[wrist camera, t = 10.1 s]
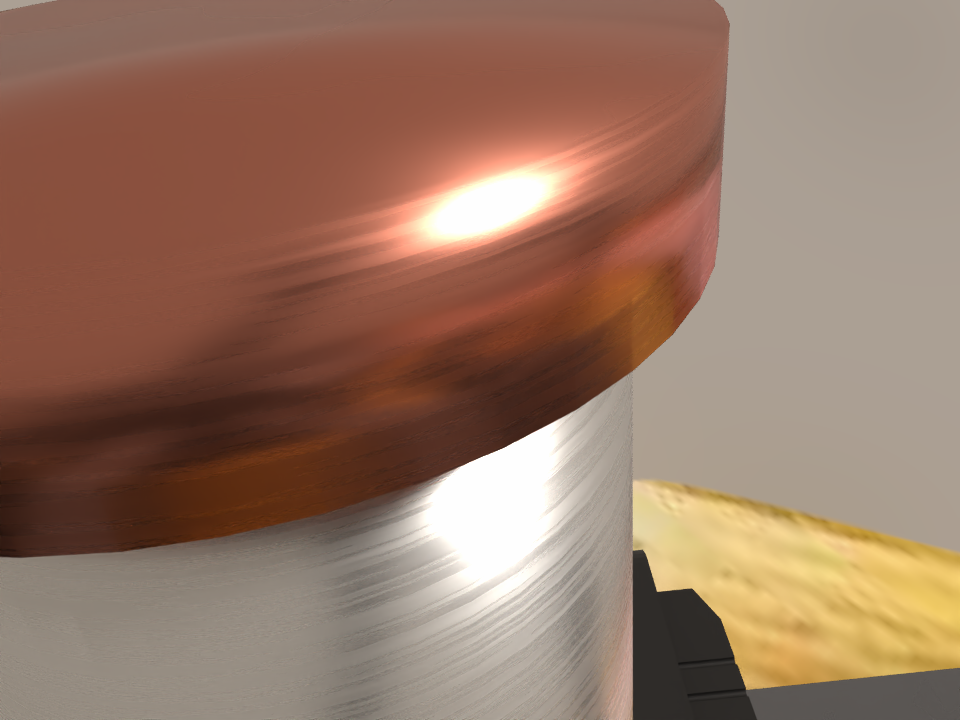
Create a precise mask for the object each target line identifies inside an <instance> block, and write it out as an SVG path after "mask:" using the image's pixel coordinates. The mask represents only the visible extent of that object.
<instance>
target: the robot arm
mask: <svg viewBox="0 0 960 720" xmlns="http://www.w3.org/2000/svg"><path fill="white" fill-rule="evenodd" d="M633 720H757V718H756V715H755V712H754V709H753V707H752V704H751V701H750V698H749V696H747V694H746V687H745V685H744V682H743V679H742V676H741V674H740V671H739V668H738V665H737V664H735V659H734V654H733V651H732V649H731V646H730V643H729V640H728V638H727V635H726V632H725V629H724V627H723V624H722V621H721V619H720V618H719V617H718V616H717V615H716V614H715V612H714V611H713V610H712V609H711V608H710V607H709V606H708V605H707V604H706V603H705V602H704V601H703V600H702V599H701V598H700V596H699V595H698V594H697V593H696V592H695V591H694V590H693V589H682V590H672V591H662V592H657V590H656V587H655V583H654V580H653V577H652V573H651V570H650V566H649V563H648V560H647V557H646V554H645V552H644V551H643V550H636V551H633Z"/></svg>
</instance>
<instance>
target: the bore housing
mask: <svg viewBox="0 0 960 720" xmlns="http://www.w3.org/2000/svg"><path fill="white" fill-rule="evenodd" d="M746 694H747V696H749V698H750V701H751V704H752V707H753V709H754V712H755V715H756V718H757V720H960V668H954V669H944V670H935V671H925V672H916V673H906V674H897V675H887V676H877V677H868V678H858V679H849V680H839V681H830V682H820V683H810V684H801V685H791V686H782V687H772V688H763V689H753V690H746Z"/></svg>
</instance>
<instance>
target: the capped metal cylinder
mask: <svg viewBox="0 0 960 720" xmlns="http://www.w3.org/2000/svg"><path fill="white" fill-rule="evenodd" d="M729 27H730V24H729V21H728V19H727V16H726V14H725V11H724V9H723V8H722V7H721V6H720V5H719V4H718V3H717V2H716V1H715V0H57V1H52V2H46V3H40V4H35V5H30V6H26V7H20V8H16V9H11V10H6V11H1V12H0V720H633V487H632V371H633V370H634V369H635V368H637V366H639V365H640V364H641V363H642V362H643V361H644V360H645V359H646V358H647V357H649V356H650V355H651V354H652V353H653V352H654V351H655V350H656V349H657V348H658V347H660V346H661V345H662V344H663V343H664V342H665V341H666V340H667V339H668V338H669V337H670V336H672V335H673V333H674V332H675V331H676V329H677V328H678V327H679V325H680V324H681V323H682V322H683V320H684V319H685V318H686V316H687V315H688V314H689V312H690V311H691V310H692V309H693V307H694V306H695V305H696V303H697V302H698V301H699V299H700V297H701V295H702V293H703V291H704V289H705V286H706V284H707V282H708V280H709V277H710V275H711V273H712V271H713V269H714V266H715V259H716V252H717V244H718V237H719V218H720V200H721V199H720V198H721V179H722V161H723V142H724V123H725V104H726V85H727V66H728V45H729Z"/></svg>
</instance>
